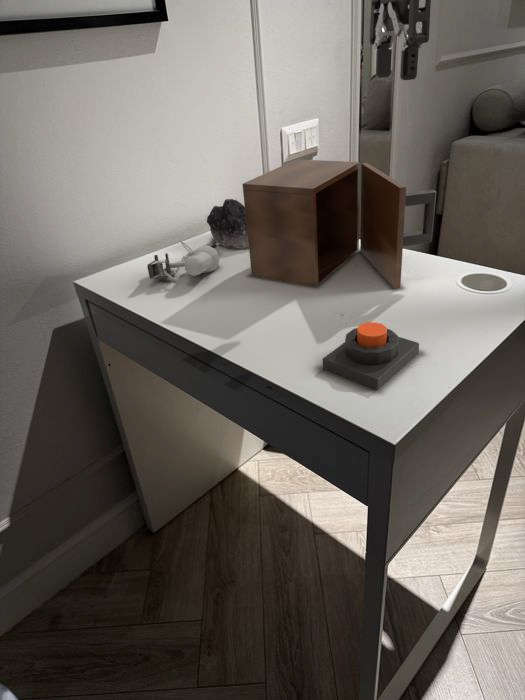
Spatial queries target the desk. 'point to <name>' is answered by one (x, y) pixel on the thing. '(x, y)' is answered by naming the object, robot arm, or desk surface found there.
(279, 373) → the desk surface
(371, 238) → the cabinet door
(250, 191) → the cabinet
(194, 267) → the clip-on lamp
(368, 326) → the release button
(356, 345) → the button box
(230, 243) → the crystal cluster
